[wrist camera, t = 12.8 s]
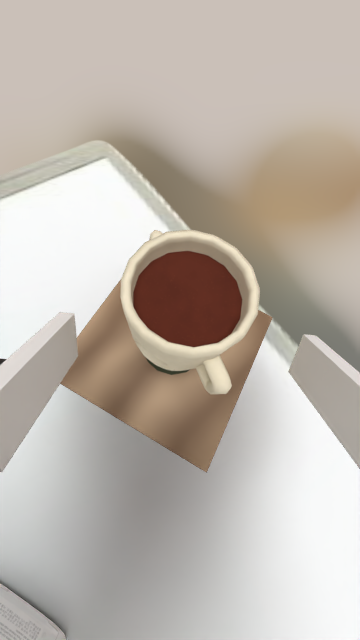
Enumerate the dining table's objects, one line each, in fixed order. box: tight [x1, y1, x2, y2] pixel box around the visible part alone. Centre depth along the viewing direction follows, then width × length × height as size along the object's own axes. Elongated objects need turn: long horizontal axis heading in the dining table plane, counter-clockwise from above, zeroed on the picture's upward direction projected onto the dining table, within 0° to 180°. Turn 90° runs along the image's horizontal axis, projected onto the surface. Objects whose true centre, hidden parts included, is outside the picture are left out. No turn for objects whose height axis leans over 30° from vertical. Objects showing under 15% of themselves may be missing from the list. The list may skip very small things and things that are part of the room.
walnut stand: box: [60, 280, 272, 473], centre depth 26 cm, size 17×17×5 cm
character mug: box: [120, 230, 260, 394], centre depth 17 cm, size 11×7×13 cm, turn 23°
